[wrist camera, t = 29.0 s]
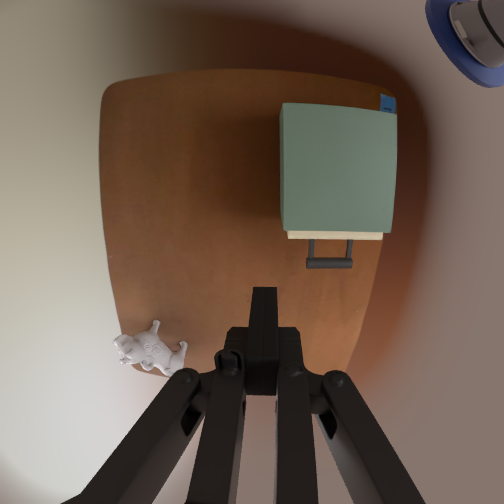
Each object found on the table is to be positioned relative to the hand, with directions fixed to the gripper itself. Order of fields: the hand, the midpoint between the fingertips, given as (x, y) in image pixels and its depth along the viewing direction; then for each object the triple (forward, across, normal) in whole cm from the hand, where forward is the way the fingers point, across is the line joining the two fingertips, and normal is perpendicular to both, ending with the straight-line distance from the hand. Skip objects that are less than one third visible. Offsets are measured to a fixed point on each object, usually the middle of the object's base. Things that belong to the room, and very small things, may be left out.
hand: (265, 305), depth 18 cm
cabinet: (+22, +8, +8) cm, 25 cm away
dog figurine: (+23, -20, -22) cm, 37 cm away
